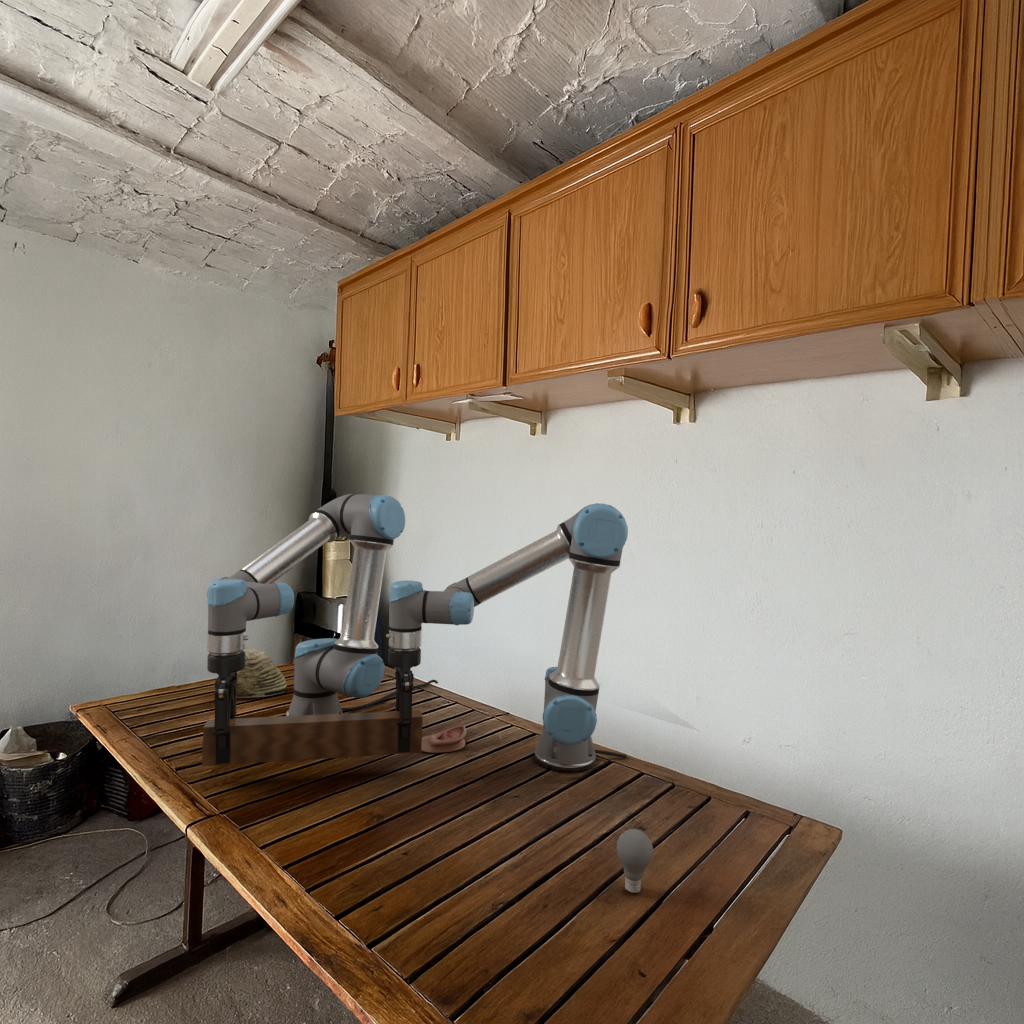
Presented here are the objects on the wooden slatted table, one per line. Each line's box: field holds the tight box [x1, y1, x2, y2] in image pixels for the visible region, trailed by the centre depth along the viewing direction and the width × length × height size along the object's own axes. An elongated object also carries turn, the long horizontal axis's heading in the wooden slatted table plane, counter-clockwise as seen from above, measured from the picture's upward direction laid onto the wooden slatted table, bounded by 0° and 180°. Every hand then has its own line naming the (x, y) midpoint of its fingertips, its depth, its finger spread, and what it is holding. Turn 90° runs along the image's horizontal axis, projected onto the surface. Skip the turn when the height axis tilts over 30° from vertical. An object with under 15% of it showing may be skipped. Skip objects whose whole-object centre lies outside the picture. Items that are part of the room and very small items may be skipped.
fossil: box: [236, 646, 288, 699], centre depth 198 cm, size 9×18×15 cm, turn 132°
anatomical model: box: [421, 725, 467, 754], centre depth 164 cm, size 13×4×12 cm
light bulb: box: [615, 828, 654, 894], centre depth 106 cm, size 6×6×10 cm
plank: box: [201, 709, 424, 767], centre depth 143 cm, size 47×5×8 cm, turn 105°
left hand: (225, 757), depth 138 cm, fingers closed on plank, 5 cm apart
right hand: (402, 746), depth 148 cm, fingers closed on plank, 5 cm apart
